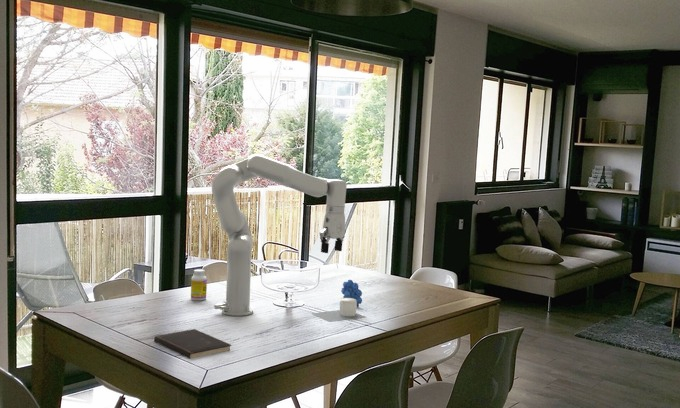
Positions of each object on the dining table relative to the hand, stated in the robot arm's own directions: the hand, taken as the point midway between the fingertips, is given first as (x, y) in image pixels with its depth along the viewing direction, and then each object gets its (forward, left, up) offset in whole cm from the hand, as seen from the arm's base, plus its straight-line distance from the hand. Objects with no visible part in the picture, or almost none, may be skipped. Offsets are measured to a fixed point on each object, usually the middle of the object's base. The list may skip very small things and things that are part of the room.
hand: (331, 251), depth 276 cm
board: (+1, -6, -27) cm, 27 cm away
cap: (+6, -6, -25) cm, 26 cm away
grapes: (+16, +8, -27) cm, 32 cm away
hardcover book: (-64, -15, -28) cm, 72 cm away
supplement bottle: (-38, +46, -27) cm, 65 cm away
